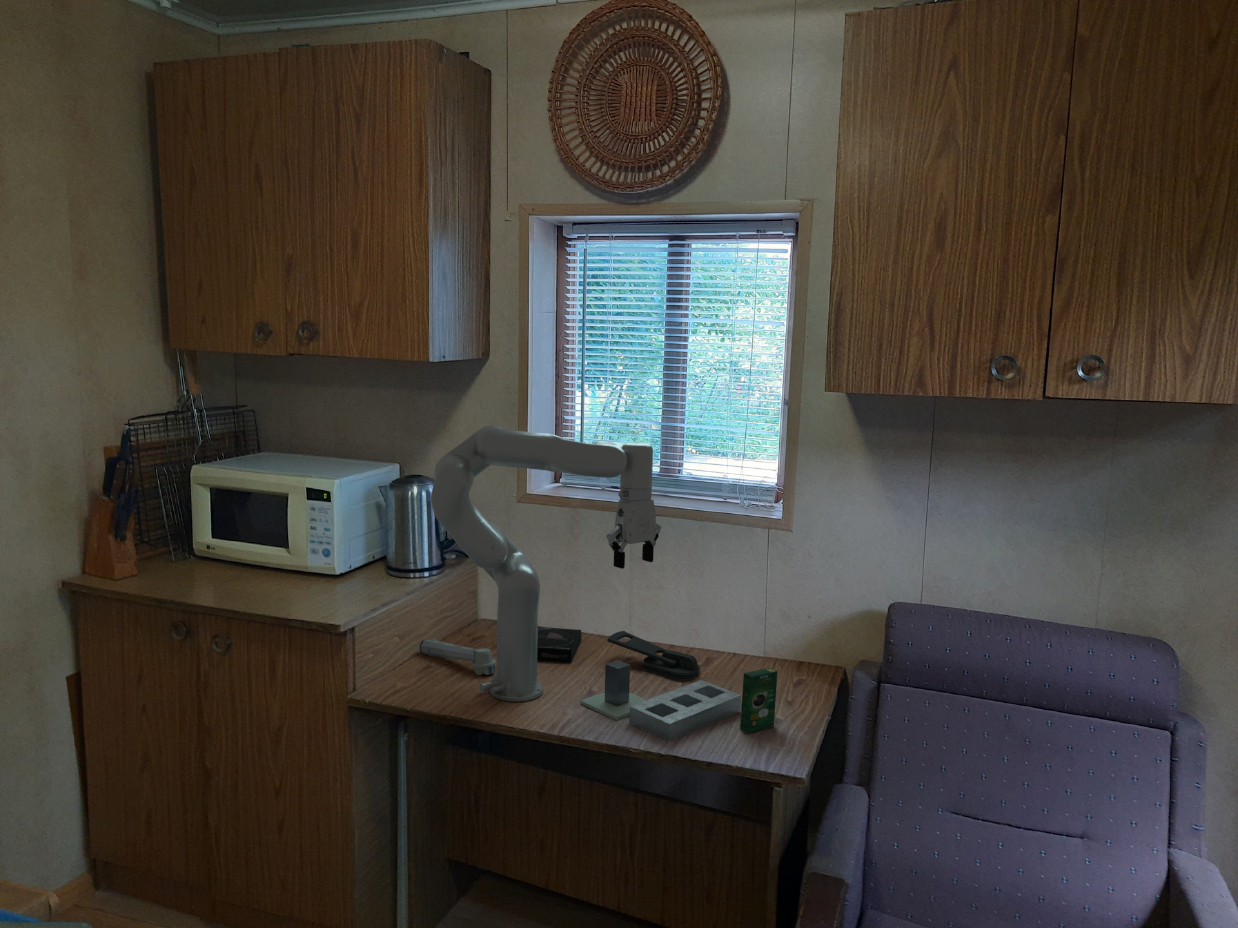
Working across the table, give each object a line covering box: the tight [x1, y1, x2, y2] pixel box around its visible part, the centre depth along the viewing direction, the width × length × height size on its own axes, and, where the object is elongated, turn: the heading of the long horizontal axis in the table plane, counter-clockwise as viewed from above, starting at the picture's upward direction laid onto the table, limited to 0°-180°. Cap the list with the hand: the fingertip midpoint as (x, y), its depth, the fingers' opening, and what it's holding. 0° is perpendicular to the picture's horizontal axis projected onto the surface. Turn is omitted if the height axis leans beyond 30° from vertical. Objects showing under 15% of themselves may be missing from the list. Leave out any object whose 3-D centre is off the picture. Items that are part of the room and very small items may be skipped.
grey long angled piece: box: [418, 638, 497, 676], centre depth 234 cm, size 5×7×25 cm
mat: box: [580, 691, 647, 721], centre depth 211 cm, size 12×12×1 cm
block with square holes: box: [628, 679, 742, 742], centre depth 205 cm, size 24×12×4 cm, turn 134°
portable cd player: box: [537, 626, 582, 664], centre depth 246 cm, size 16×17×4 cm
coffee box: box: [739, 667, 778, 734], centre depth 200 cm, size 8×3×13 cm, turn 123°
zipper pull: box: [606, 630, 700, 682], centre depth 235 cm, size 9×7×25 cm
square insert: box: [604, 659, 631, 706], centre depth 210 cm, size 4×4×9 cm
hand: (633, 564), depth 219 cm, fingers open, 9 cm apart
